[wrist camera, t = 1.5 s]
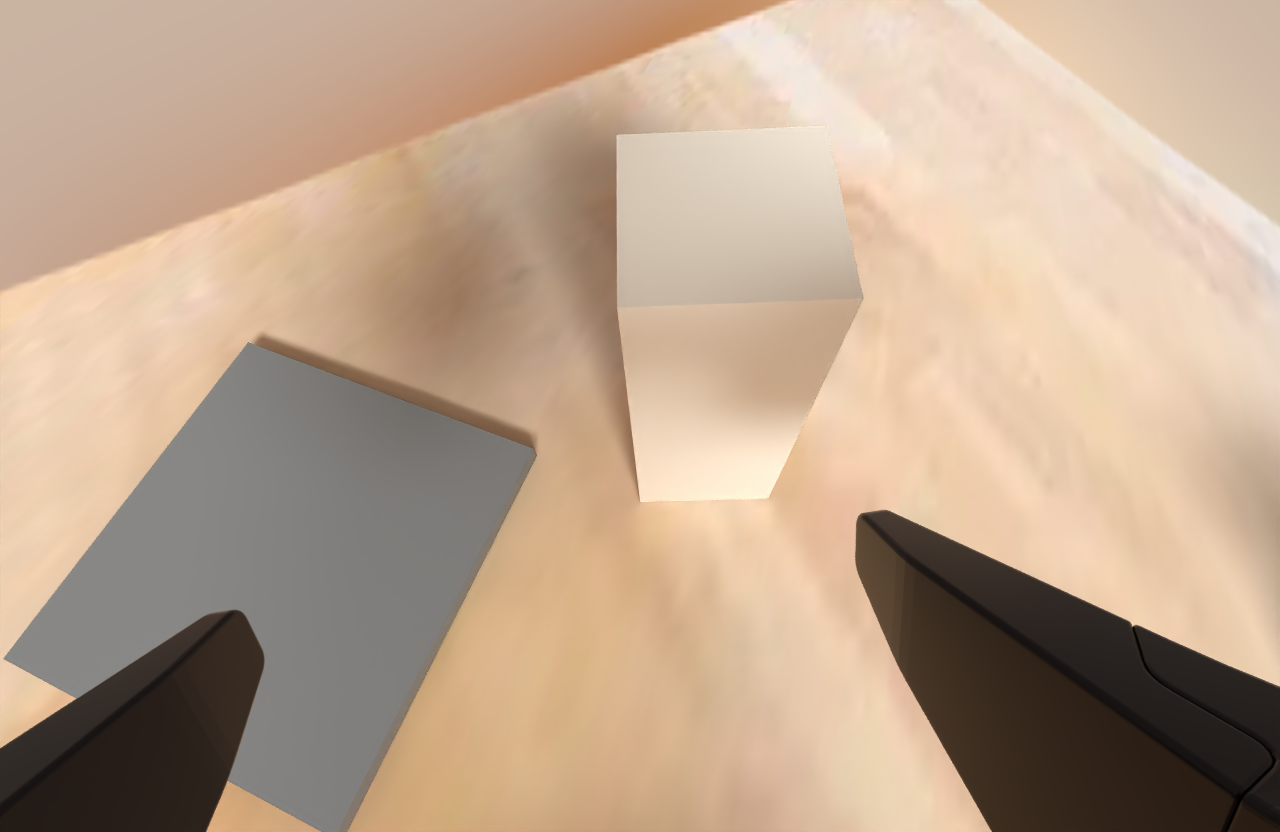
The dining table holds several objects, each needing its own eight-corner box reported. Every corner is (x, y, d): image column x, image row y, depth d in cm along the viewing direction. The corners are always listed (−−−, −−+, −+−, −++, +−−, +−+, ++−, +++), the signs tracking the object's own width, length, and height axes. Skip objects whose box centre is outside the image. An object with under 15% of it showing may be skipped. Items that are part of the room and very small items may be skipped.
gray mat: (536, 455, 25) (532, 448, 25) (345, 833, 20) (333, 838, 19) (258, 351, 28) (248, 342, 27) (24, 660, 23) (3, 658, 22)
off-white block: (767, 498, 24) (863, 298, 13) (640, 502, 24) (617, 307, 13) (755, 385, 27) (826, 125, 15) (638, 389, 27) (616, 135, 15)
